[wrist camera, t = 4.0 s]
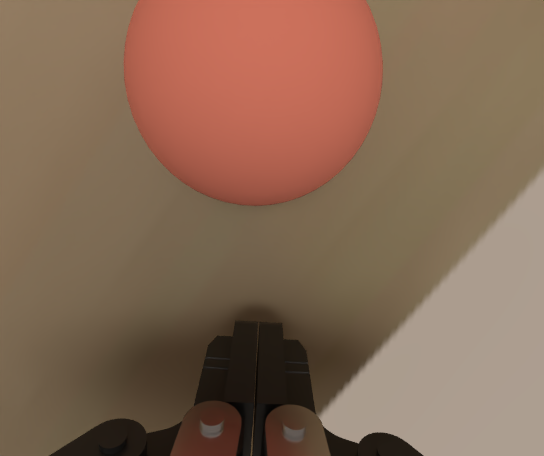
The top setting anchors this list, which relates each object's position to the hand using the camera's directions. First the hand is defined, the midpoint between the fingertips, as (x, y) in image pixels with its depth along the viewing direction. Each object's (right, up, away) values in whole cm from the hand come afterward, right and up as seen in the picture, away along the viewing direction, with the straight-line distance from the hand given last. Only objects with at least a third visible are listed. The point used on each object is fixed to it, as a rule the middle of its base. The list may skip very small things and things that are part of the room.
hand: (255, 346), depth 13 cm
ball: (0, +7, -4) cm, 8 cm away
